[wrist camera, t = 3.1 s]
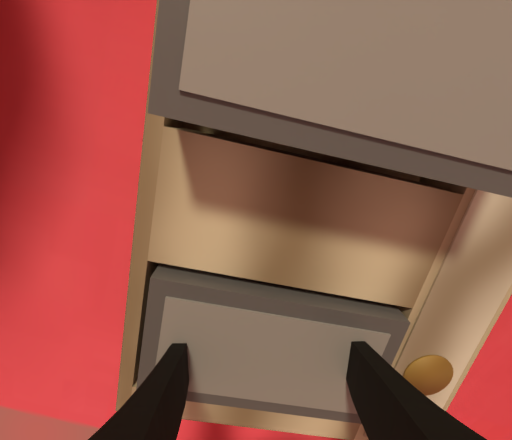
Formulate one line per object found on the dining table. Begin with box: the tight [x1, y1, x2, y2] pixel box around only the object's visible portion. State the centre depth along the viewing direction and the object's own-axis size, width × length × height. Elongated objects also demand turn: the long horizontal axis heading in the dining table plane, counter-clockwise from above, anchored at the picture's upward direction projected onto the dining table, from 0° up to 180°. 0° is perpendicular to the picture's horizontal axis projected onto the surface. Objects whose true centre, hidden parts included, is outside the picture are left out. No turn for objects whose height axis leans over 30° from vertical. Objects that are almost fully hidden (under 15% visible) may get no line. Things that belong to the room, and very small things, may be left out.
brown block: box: [136, 263, 410, 424], centre depth 14 cm, size 11×6×4 cm, turn 78°
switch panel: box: [116, 0, 512, 440], centre depth 13 cm, size 16×22×4 cm
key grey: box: [148, 0, 512, 198], centre depth 8 cm, size 11×6×4 cm, turn 78°
